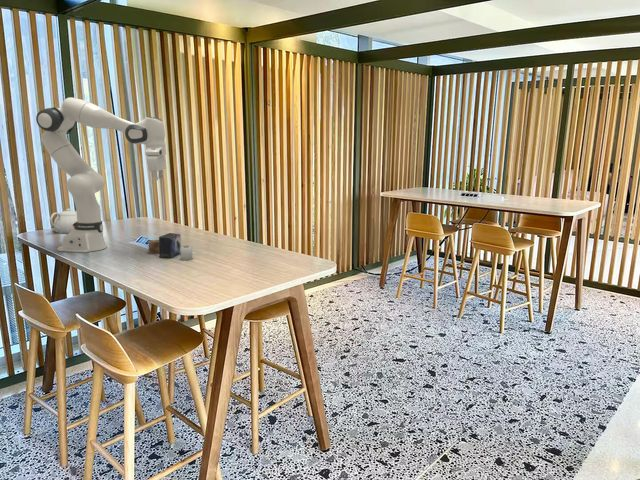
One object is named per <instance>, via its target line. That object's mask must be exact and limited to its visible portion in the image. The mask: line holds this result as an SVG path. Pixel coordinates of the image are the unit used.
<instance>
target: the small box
mask: <svg viewBox="0 0 640 480" xmlns="http://www.w3.org/2000/svg"><path fill="white" fill-rule="evenodd" d="M158 240H159V254H158V255H159V258H163V259H173V258H174V257H176V256H180V247H181V246H182V244H181V243H182V242H181V233H173V232H169V233H166V234H164V235H161V236H158Z"/></svg>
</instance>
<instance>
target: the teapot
mask: <svg viewBox="0 0 640 480" xmlns="http://www.w3.org/2000/svg"><path fill="white" fill-rule="evenodd" d="M55 215H57V216H56V217H55V219H54V216H55ZM53 219H54V220H53ZM76 222H77V213H76V210H72V208H66V210H63V211H61V212H60V213H59V212H53V213H52V214H51V215H50V217H49V223H50V225H51V226H52V227H53V230H54V232H56V233H58V234H59V233H60V234H68V233H70V232H71V231H72V230H74V226H73V225H72V224H74V223H76Z"/></svg>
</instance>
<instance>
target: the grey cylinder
mask: <svg viewBox="0 0 640 480" xmlns="http://www.w3.org/2000/svg"><path fill="white" fill-rule="evenodd" d="M179 256H180V260H181V261H190V260H193V246H192V245H183V246H182V245H181V247H180V254H179Z"/></svg>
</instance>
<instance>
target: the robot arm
mask: <svg viewBox="0 0 640 480" xmlns="http://www.w3.org/2000/svg"><path fill="white" fill-rule="evenodd" d="M35 117H36V118H35V121H36V125H38V127H39V128H40V129H42V131H44V132H42V134H41V137H40V139H41V142H42V144H43V146H44V148H45V149H46V151H47V153H48V154H49V155H50V157H51V159H53V161H54V162H55V163H56V164H57V166H58V167H59V168H60V170H61V171H62V172H63V173H66V174H67V175H68V176H70V177H69V178H68V179H67V181H66V189H67V191H68V192H69V193H70V194H71V196H72V200H73V202H74V204H75V205H74V206H75V211H76V213H77V222H76V223H74V224H72V225H73V226H74V230H72V231H71V232H70V233H66V235H65V236H63V238H62V244H61V245H60V246H58V247H57V251H58V252H69V253H72V252H73V253H90V252H95V251H101V250H105V249H107V244H106V241H105V238H104V233H103V232H104V225H103V221H102V212H101V211H102V210H101V205H100V204H99V202H98V200H97V197H96V194H97V193H98V192H101V190H102V189H103V188H104V186H105V183H106V182H105V178H104V177H103V176H102V174H100V173H98V172H97V171H96V170H95V168H93V167H91V166H90V164H88V163H87V161H85V160H84V159H83V158H82V156H80V154H79V153H78V151H77V150H76V148H75V147H74V145H72V143H71V142H70V141H69V139H68V138H67V135H68V134H71V132H72V131H73V130H74V129H75V128H76V126H77V125H78V123H79V124H81V125H84V126H85V127H90V128H94V129H109V130H116V131H118V132H122V133H124V136H125V139H126V140H127V141H128V142H129V143H130V144H133V145H145V146H146V150H145V152H144V154H145V156H146V163H147V170H148V172H151V173H152V178H153V181H158V180H159V179H160V180H162V179H163V178H164V176H163V175H164V170H165V169H167V165H166V164H167V163H166V157H165V156H166V155H167V148H166V141H165V137H166V133H165V126H164V121H163V120H162V119H161V118H158V117H154V116H146V117H145V118H143V119H142V120H140V121H138V122H132V121H130V120H127V119H124V118H121V117H120V116H117V115H115V114H113V113H111V112H109V111H107V110H106V109H104V108H102V107H101V106H98V105H96V104H95V103H92V102H90V101H87V100H84V99H80V98H76V97H70V96H69V97H67V98H65V99H64V100H63V101H62V104H61V106H60V107H57V106H54V107H47V108H43V109H41V110H40V111H38V112H37V113H36V116H35Z"/></svg>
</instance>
